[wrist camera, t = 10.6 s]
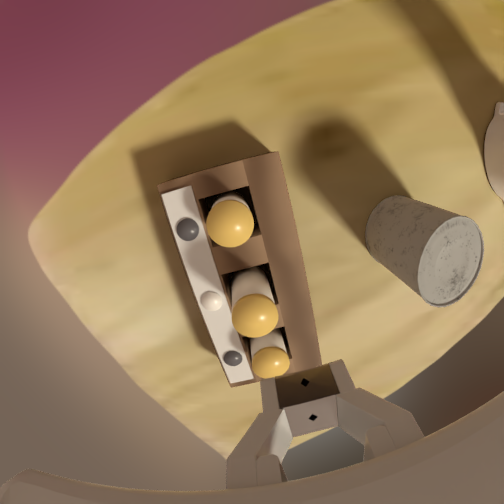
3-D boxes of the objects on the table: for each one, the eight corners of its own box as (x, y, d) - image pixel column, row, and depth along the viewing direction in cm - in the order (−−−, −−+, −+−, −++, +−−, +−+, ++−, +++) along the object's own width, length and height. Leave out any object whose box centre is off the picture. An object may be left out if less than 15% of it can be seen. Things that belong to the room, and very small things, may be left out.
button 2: (275, 310, 37) (285, 346, 30) (282, 335, 39) (292, 373, 31) (244, 318, 37) (248, 356, 30) (252, 343, 39) (257, 382, 31)
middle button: (263, 260, 32) (272, 292, 25) (271, 293, 34) (282, 331, 26) (226, 270, 32) (225, 304, 25) (236, 302, 34) (238, 342, 26)
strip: (191, 185, 27) (190, 185, 27) (253, 377, 35) (253, 379, 35) (162, 194, 27) (160, 195, 27) (230, 381, 35) (230, 384, 35)
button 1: (243, 186, 32) (247, 195, 25) (252, 221, 34) (258, 240, 26) (207, 196, 32) (200, 208, 25) (217, 230, 34) (213, 252, 26)
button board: (271, 152, 32) (278, 151, 27) (312, 342, 40) (322, 364, 35) (167, 180, 32) (156, 185, 27) (230, 363, 40) (230, 387, 35)
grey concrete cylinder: (356, 261, 36) (404, 305, 25) (374, 187, 34) (434, 206, 22) (413, 269, 38) (465, 308, 26) (430, 203, 35) (492, 225, 23)
